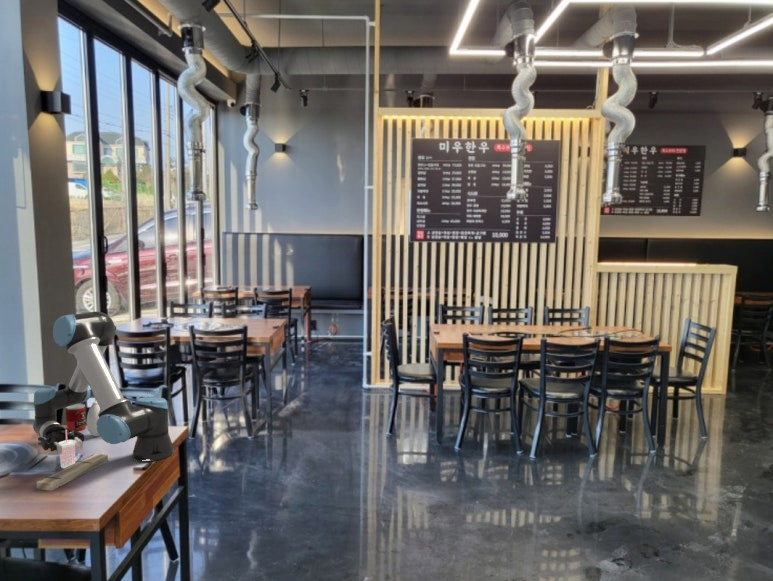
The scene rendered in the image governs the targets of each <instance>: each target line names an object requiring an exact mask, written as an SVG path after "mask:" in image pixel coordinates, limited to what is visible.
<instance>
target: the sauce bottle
mask: <svg viewBox="0 0 773 581" xmlns="http://www.w3.org/2000/svg"><path fill="white" fill-rule="evenodd" d="M89 407H90V408H89V409H88V412H87V415H86V428H87V430H88V433H89V434H90V435H92V436H93V437H100V436H99V434H98V431H97V427H98V426H97V421H98V419H99V416H98V414H99V411H100V407H99V405H98V403H97V401H96V399H95V398H94V401H93V402H92V404H91V405H90V406H89Z"/></svg>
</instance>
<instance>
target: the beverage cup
mask: <svg viewBox="0 0 773 581" xmlns="http://www.w3.org/2000/svg"><path fill="white" fill-rule="evenodd" d="M65 429H66V430H65V431H66V440H65V441H61V442H59V444H60V445H61V446H62V453H61V454H59V453H58V455H59V461H60V462H59V463H60V468H62V469H64V468H66V467H69V466H71V465H73V464H75V463H76V445H75V444H76V440H67V428H65Z"/></svg>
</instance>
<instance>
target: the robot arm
mask: <svg viewBox="0 0 773 581" xmlns="http://www.w3.org/2000/svg"><path fill="white" fill-rule="evenodd" d="M115 335H116V326H115V323H114V320H113V319H112V318H111V316H110V315H108V314H106V313H104V312H101V311H89V312H83V313H69V314H67V315H66V314H65V315H62V316H60V317H58V318H57V319H56V320H55V321H54V325H53V328H52V337H53V341H54V342H55V344H56V345H57V346H59V347H62V348H63V347H64V348H65V349H66V351H67V353H69V354H72V355H73V356H74V357H75V359H76V361H77V365H76V367H75V369H74V372H73V374H72V375H71V376H72V377H71V378H70V381H69V382H68V385H67V387H66V388H64V389H60V390H55V388H53V387H50V388H49V387H48V388H47V387H46V388H41V389H37V390H35V392H34V394H33V405H34V406H33V407H34V408H33V409H34V421H33V424H32V428H33V431H34V432H35V434H37V435H38V436H39V437H37V443H38V445H40V446H41V448H42V449H43V450H44V451H48V450H49V449H50V452H54V451H56V452H57V453H58V455H59V454H61V453H62V446H61V445H60V444H59V442H61V441H65V440H66V431H65V430H66V429H67V428H65V427H64V426H63V425H61V424H60V423H59V422H58V421H57V419H58V418H57V411H58V410H60V409H64V408H66V407H68V406H71V405H75V404H83V403H84V402H86V401H88V400H90V398H91V392H92V396H94V400H95V399H96V401H97V403H98V405H99V407H100V411H99V414H98V416H99V419H98V421H97V426H98V427H97V431H98V434H99V436H98V437H100V438H101V439H102V440H103V441H104V442H105V443H107V444H110V445H116V444H117V445H118V444H122V443H125V442H127V441H129V440H130V439H133V438H136V440H135V444H134V447H133V449H132V450H133V451H132V458H133V460H134V459H135V461H136V460H137V462H142V460H146V459H150V460H153V461H152V462H156V461H160V460H163V459H166V458H169V457H171V456H172V455H173V454H174V452H175V447H174V444H173V442H172V439H171V437H170V434H169V406H168V400H166V398H164V397H157V396H156V397H154V396H150V397H149V396H148V397H140V398H136V399H135V403H134V404H135V406H134V405H133V404H132V402H131V400H130V399H128V398H125V397H124V396H123V393H122V392H121V389H120V388H119V386H118V382H116V380H115V378H114V375H113V373H112V372H111V369H110V366H109V364H108V363H107V360H106V359H105V357H104V353H105V351H106V350H107V347H109V346H110V345H111V344H112V343H113V340H114V338H115ZM67 440H76V444H75V447H76V446H77V447H78V449H80V450H81V449H83V448H84V447H83V444H84V443H83V442H85V434H83V433H82V432H81V431H77V429H75V430H73V431H72V432H69V431H67Z"/></svg>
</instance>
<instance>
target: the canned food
mask: <svg viewBox="0 0 773 581" xmlns="http://www.w3.org/2000/svg"><path fill="white" fill-rule="evenodd" d="M86 413H87V412H86V404H84V403H79V404H75V405H71V406H68V407H65V421H66V425H65V426H66V429H67V431H70V432H72V431H73V430H75V429H77V431H78V432H81V431H84V430H85V429H86V428H87V415H86Z"/></svg>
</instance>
